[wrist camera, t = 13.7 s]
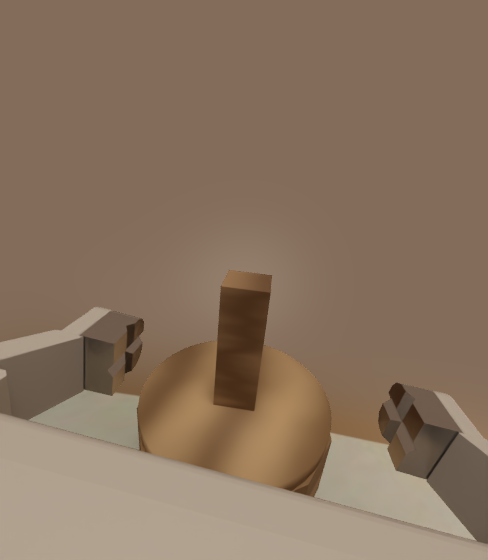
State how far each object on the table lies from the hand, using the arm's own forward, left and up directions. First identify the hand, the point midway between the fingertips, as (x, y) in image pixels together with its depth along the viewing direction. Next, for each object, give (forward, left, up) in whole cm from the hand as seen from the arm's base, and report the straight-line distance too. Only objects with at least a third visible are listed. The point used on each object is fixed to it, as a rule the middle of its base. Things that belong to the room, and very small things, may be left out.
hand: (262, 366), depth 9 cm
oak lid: (+1, +11, -18) cm, 21 cm away
